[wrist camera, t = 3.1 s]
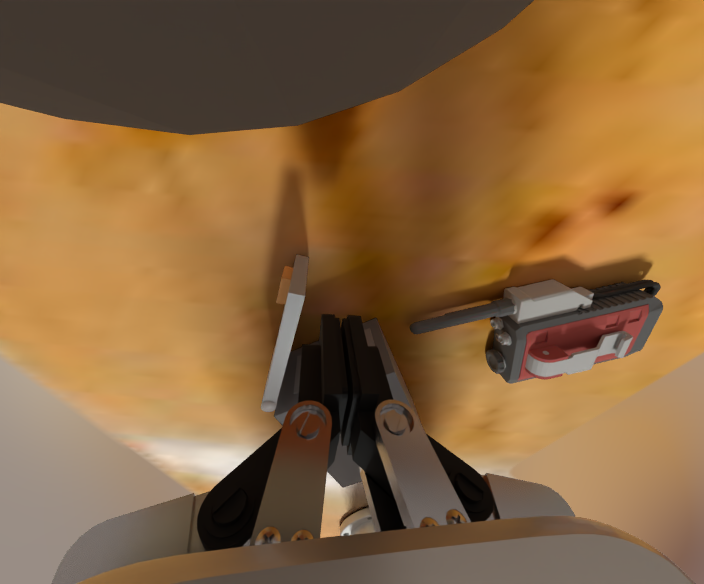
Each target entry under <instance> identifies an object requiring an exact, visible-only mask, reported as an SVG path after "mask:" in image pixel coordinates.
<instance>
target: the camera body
mask: <svg viewBox="0 0 704 584" xmlns="http://www.w3.org/2000/svg"><path fill="white" fill-rule="evenodd" d="M362 324H363V328H364V332H365V336H366V340H367V344H368V346H377V347H378V349H379V352H380V356H381V359H382V362H383V366H384V369H385V373H386V376H387V379H388V383H389V386H390V390H391V393H392V397H393V400H398V401H401V402H403V403H405V404H407V405H408V406H409V407H410V408H411V409H412V410H413V411H414V413H415V414H416V416H417V418H418V420H419V422H420V424H421V421H420V419H419V416H418V413H417V411H416V408H415V405H414V403H413V400H412V398H411V395H410V393H409V391H408V389H407V386H406V384H405V382H404V379H403V377H402V375H401V373H400V370H399V368H398V366H397V364H396V361H395V359H394V357H393V354H392V352H391V350H390V348H389V345H388V343H387V341H386V339H385V336H384V334H383V332H382V330H381V327H380V325H379V323H378V320H377V318H375V319H372V320H370V321H367V322H365V323H362ZM309 345H319V341H316V342H314V343H311V344H309ZM301 355H302V347H301V348H299V349H296V350H294V351H291V352H290V354H289V358H288V362H287V365H286V369H285V373H284V377H283V380H282V384H281V388H280V391H279V395H278V399H277V405H276V409H275V413H274V417H275V418H276V419H277V420H278V421H279V422H280V423H281V424H282V425H283V423H284V420H285V417H286V415H287V413H288V411H289V410H290V409H291V408H292V407H293V406H294V405H296V404H297V403H298V396H299V383H300V369H301ZM421 425H422V424H421ZM327 472H328V473H329V474H330V475H331V476H332V477H333V478H334V479H335V480H336V481H337V482H338V483H339V484H340V485H341V486H342V487H346V486H349V485H352V484H355V483H358V482H361V481H362V479H361V475H360V468H359V466H358V465H357V464H356V463H355V462H354V461H353V459H352V455H347V446H342V444H341V434H340V438H339V443H338V446H337V451H336V456H335V461H334V462H333V463H332V465H331V466H330V467H329V468H328V470H327Z"/></svg>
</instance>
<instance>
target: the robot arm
mask: <svg viewBox="0 0 704 584" xmlns="http://www.w3.org/2000/svg"><path fill="white" fill-rule="evenodd" d="M340 434H341V444H342V446H347V455H352V459H353V461H354V462H355V463H356V464H357V465H358V466H359V468H360V475H361V479H362V483H363V486H364V490H365V494H366V498H367V502H368V505H369V507H368V508H365V509H362V510H360V511H357V512H355V513H353V514H352V515H350V516H349V517H347V518H346V519H345V520H344V521H343V522H342V524H341V526H340V536H335V537H326V538H320V532H321V522H322V513H323V503H324V494H325V484H326V475H327V470H328V468H329V467H330V466H331V465H332V463H333V462H334V461H335V456H336V451H337V446H338V443H339V438H340ZM52 584H695V582H694V581H693V580H692V579H691V578H690V577H689V576H688V575H687V574H686V573H684V572H683V571H682V570H681V569H680V568H679V567H678V566H677V565H676V564H675V563H674V562H672V561H671V560H670V559H669V558H668V557H667V556H665V555H664V554H663V553H661V552H659V551H658V550H657V549H655V548H654V547H653V546H651V545H649V544H648V543H646V542H644V541H643V540H641V539H639V538H637V537H635V536H633V535H631V534H629V533H627V532H625V531H622V530H620V529H618V528H615V527H613V526H611V525H608V524H604V523H601V522H598V521H595V520H591V519H586V518H581V517H575V515H574V513H573V511H572V510H571V508H570V506H569V505H568V503H567V502H566V501H565V500H564V499H563V498H562V497H561V496H560V495H559V494H558V493H557V492H555V491H554V490H552V489H551V488H549V487H547V486H544V485H542V484H537V483H532V482H527V481H523V480H518V479H513V478H508V477H504V476H499V475H494V474H489V473H486V474H485V475H480V474H479V473H478V472H477V471H476V470H475V469H473V468H472V467H471V466H469V465H468V464H466V463H465V462H464V461H462V460H461V459H460V458H458V457H457V456H456V455H454V454H453V453H452V452H450V451H449V450H447V449H446V448H445V447H443V446H442V445H441V444H439V443H438V442H437V441H435V440H434V439H433V438H431V437H430V436H428V435H427V434H426V433H425V431H424V429H423V427H422V425H421V424H420V422H419V420H418V418H417V416H416V414H415V413H414V411H413V410H412V409H411V408H410V407H409V406H408V405H407V404H405V403H403V402H401V401H398V400H393V397H392V393H391V390H390V386H389V383H388V379H387V376H386V373H385V369H384V366H383V362H382V359H381V356H380V352H379V349H378V347H377V346H368V344H367V340H366V336H365V332H364V328H363V324H362V320H361V316H352V315H348V316H347V319H345V318H343V319H342V325H341V328H340V320H339V318H335V315H331V314H322V316H321V326H320V336H319V345H309V344H302V355H301V369H300V383H299V396H298V403H297V404H296V405H294V406H293V407H292V408H291V409H290V410H289V411H288V413H287V415H286V417H285V420H284V423H283V427H282V428H281V429H280V430H279V431H278V432H277V433H276V434H274V435H273V436H272V437H271V438H270V439H269V440H267V441H266V442H265V443H264V444H263V445H262V446H261V447H259V448H258V449H257V450H256V451H255V452H254V453H253V454H251V455H250V456H249V457H248V458H247V459H246V460H244V461H243V462H242V463H241V464H240V465H239V466H238V467H236V468H235V469H234V470H233V471H232V472H231V473H230V474H228V475H227V476H226V477H225V478H224V479H223V480H222V481H220V482H219V483H218V484H217V485H216V486H215V487H214V488H213V489H212V490H211V491H210V492H206V493H203V494H200V495H197V496H195V494H194V493H193V494H190V495H186V496H184V497H180V498H177V499H173V500H170V501H167V502H164V503H161V504H157V505H154V506H151V507H148V508H144V509H141V510H138V511H135V512H132V513H129V514H125V515H122V516H119V517H115V518H112V519H109V520H106V521H104V522H102V523H100V524H98V525H96V526H94V527H92V528H91V529H90V530H89V531H87V532H86V533H85V534H84V535H82V536H81V537H80V538H79V539H78V540H77V541H76V542H75V543H74V544H73V546H72V547H71V548H70V549H69V550H68V551H67V553H66V554H65V556H64V558H63V560H62V562H61V563H60V565H59V567H58V569H57V572H56V574H55V577H54V579H53V581H52Z"/></svg>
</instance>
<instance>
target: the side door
mask: <svg viewBox="0 0 704 584" xmlns="http://www.w3.org/2000/svg"><path fill="white" fill-rule="evenodd" d="M308 261H309V257H305V256H302V255H298V254H296V259H295V263H294V267H293V268H292V267H288V266H285V267H284V271H283V274H282V278H281V283H280V287H279V292H278V297H277V301H276V303H279V304H284V305H285V306H284V310H283V315H282V319H281V323H280V327H279V332H278V336H277V340H276V345H275V347H274V350H273V355H272V359H271V364H270V368H269V373H268V377H267V382H266V386H265V391H264V395H263V400H262V404H261V409H262V410H263V411H265V412H272V411H274V410H275V409H276V405H277V399H278V395H279V391H280V388H281V384H282V380H283V377H284V373H285V369H286V365H287V362H288V358H289V354H290V351H291V347H292V343H293V340H294V336H295V332H296V328H297V325H298V321H299V317H300V314H301V310H302V306H303V303H304V299H305V293H306V282H307V271H308Z"/></svg>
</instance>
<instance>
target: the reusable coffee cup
mask: <svg viewBox="0 0 704 584" xmlns="http://www.w3.org/2000/svg"><path fill="white" fill-rule="evenodd" d="M533 1H534V0H0V103H3V104H7V105H11V106H15V107H19V108H23V109H27V110H31V111H35V112H39V113H43V114H47V115H51V116H55V117H59V118H63V119H71V120H79V121H86V122H94V123H102V124H109V125H117V126H125V127H132V128H140V129H148V130H156V131H163V132H171V133H179V134H186V135H194V134H205V133H217V132H228V131H240V130H251V129H263V128H274V127H286V126H297V125H300V124H303V123H306V122H309V121H312V120H315V119H318V118H321V117H324V116H327V115H330V114H333V113H336V112H339V111H342V110H345V109H348V108H351V107H354V106H357V105H360V104H363V103H366V102H369V101H372V100H375V99H378V98H381V97H384V96H387V95H390V94H393V93H396V92H399V91H401V90H402V89H404V88H405V87H407V86H409V85H410V84H412V83H414V82H415V81H417V80H419V79H420V78H422V77H423V76H425V75H427V74H428V73H430V72H432V71H433V70H435V69H437V68H438V67H440V66H441V65H443V64H445V63H446V62H448V61H450V60H451V59H453V58H455V57H456V56H458V55H459V54H461V53H463V52H464V51H466V50H468V49H469V48H471V47H473V46H474V45H476V44H478V43H479V42H481V41H482V40H484V39H486V38H487V37H489V36H491V35H492V34H494V33H496V32H497V31H499V30H500V29H502V28H503V27H505V26H506V25H507V24H508V23H509V22H510V21H511V20H512V19H513V18H515V17H516V16H517V15H518V14H519V13H520V12H521V11H522V10H524V9H525V8H526V7H527V6H528V5H529V4H530V3H531V2H533Z"/></svg>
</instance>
